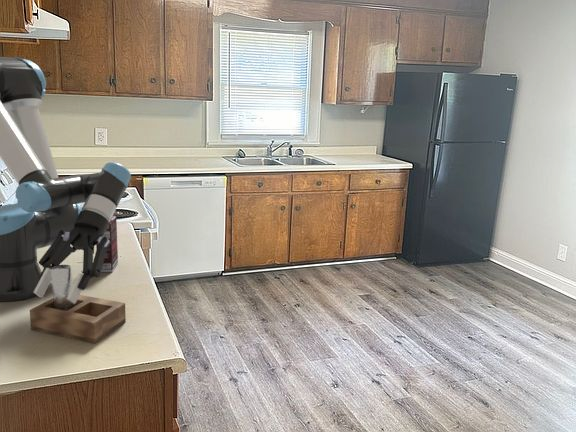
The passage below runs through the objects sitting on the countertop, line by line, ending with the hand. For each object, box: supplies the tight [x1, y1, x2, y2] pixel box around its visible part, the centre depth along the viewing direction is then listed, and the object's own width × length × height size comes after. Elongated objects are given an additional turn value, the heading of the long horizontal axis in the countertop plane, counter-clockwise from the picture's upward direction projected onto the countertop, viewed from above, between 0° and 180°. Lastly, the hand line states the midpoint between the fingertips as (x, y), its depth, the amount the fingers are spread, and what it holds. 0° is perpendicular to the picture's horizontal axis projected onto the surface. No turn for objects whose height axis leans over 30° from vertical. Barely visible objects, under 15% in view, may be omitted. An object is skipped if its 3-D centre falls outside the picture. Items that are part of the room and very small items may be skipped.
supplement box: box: [95, 215, 119, 273], centre depth 163 cm, size 9×5×16 cm, turn 6°
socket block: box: [29, 294, 127, 344], centre depth 125 cm, size 17×12×5 cm
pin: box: [50, 264, 74, 311], centre depth 124 cm, size 4×4×13 cm
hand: (54, 298), depth 121 cm, fingers open, 8 cm apart
